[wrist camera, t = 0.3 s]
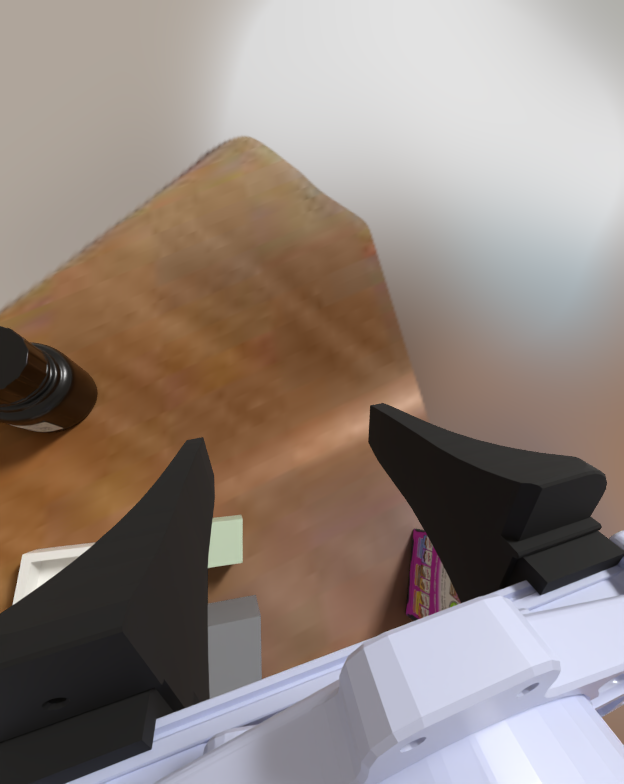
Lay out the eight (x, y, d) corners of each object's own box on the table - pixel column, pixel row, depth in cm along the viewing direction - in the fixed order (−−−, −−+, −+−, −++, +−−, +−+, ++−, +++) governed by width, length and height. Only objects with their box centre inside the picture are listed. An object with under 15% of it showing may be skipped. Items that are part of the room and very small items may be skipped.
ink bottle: (-10, 395, 33) (-127, 352, 22) (62, 349, 37) (-8, 292, 26) (50, 451, 33) (-38, 435, 22) (117, 400, 37) (70, 364, 26)
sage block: (240, 553, 36) (242, 562, 31) (202, 559, 34) (199, 569, 30) (240, 514, 37) (242, 518, 33) (204, 518, 36) (200, 523, 32)
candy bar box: (435, 620, 39) (563, 705, 24) (404, 614, 39) (516, 698, 24) (441, 533, 43) (553, 560, 28) (412, 526, 43) (512, 549, 28)
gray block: (256, 654, 33) (261, 688, 27) (201, 667, 31) (195, 707, 26) (255, 594, 35) (260, 615, 29) (203, 604, 33) (198, 628, 28)
